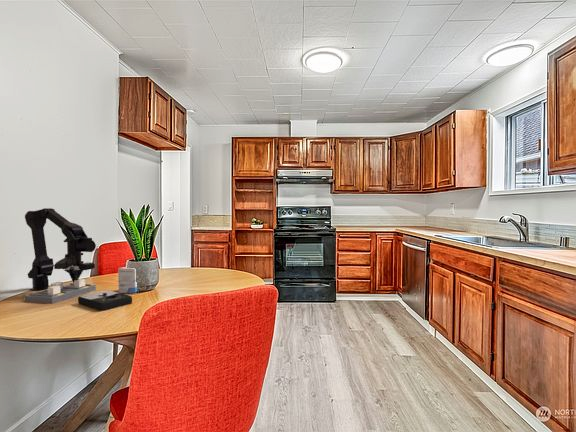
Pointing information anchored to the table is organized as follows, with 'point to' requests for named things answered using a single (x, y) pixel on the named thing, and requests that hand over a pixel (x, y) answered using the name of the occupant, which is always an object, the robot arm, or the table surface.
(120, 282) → the ink box
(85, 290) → the switch bank
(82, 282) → the tab
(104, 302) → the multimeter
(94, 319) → the table surface
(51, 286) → the tab
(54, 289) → the tab
